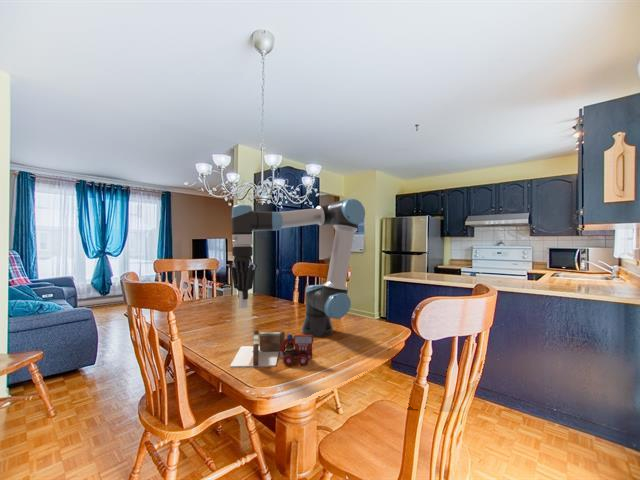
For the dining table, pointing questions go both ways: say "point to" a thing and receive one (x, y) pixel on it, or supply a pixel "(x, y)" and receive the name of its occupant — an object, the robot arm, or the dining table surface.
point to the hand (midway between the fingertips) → (243, 307)
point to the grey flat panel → (255, 350)
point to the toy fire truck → (296, 349)
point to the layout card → (246, 358)
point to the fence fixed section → (270, 340)
